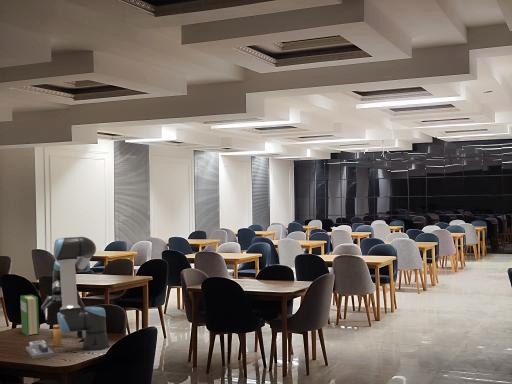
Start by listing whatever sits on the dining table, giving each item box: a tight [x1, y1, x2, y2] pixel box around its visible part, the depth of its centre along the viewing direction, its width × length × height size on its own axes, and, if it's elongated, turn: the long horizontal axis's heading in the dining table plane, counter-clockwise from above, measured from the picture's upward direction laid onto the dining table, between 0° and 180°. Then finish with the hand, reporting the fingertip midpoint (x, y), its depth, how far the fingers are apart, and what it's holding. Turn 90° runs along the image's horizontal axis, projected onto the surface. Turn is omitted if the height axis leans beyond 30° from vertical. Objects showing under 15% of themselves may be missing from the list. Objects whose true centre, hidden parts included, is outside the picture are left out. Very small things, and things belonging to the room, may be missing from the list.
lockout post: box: [52, 324, 63, 347], centre depth 393 cm, size 4×4×12 cm
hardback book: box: [19, 294, 40, 337], centre depth 434 cm, size 18×7×24 cm, turn 31°
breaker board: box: [25, 339, 55, 360], centre depth 375 cm, size 26×11×6 cm, turn 28°
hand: (57, 317), depth 404 cm, fingers open, 13 cm apart
